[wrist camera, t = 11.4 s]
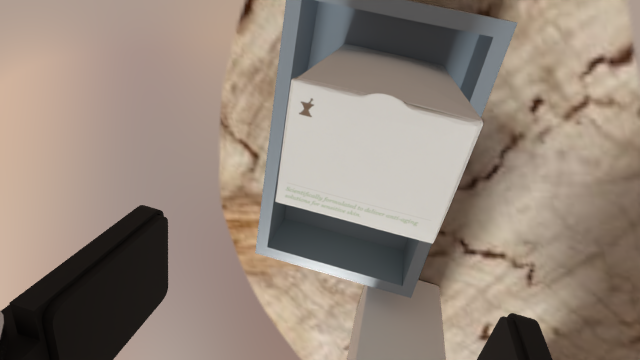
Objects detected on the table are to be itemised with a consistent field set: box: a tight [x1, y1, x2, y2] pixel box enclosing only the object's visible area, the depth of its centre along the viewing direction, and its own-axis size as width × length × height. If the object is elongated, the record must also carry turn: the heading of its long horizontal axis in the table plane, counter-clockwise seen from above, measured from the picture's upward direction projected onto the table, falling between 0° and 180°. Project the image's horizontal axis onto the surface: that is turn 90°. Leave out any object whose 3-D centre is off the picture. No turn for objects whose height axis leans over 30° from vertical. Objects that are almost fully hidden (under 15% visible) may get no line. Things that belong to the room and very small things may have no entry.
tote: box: [255, 0, 517, 298], centre depth 31 cm, size 14×22×6 cm, turn 170°
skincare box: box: [275, 44, 483, 243], centre depth 24 cm, size 8×7×16 cm
